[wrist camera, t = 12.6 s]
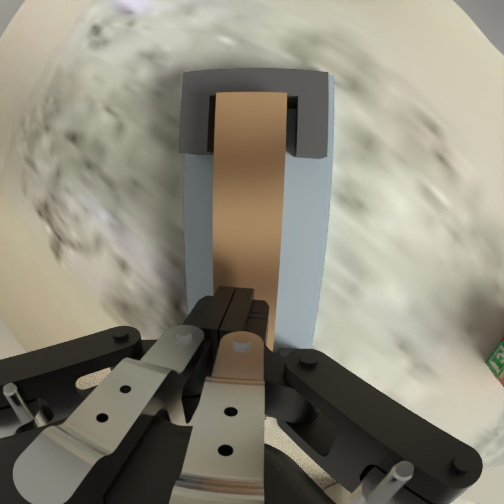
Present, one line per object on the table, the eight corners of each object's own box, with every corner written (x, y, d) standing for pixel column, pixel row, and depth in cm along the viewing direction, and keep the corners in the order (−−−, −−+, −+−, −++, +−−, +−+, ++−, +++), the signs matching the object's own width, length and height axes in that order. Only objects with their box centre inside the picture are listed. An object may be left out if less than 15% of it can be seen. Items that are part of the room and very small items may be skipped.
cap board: (300, 391, 22) (301, 425, 18) (198, 381, 23) (185, 412, 19) (331, 80, 15) (343, 58, 11) (193, 78, 16) (171, 58, 12)
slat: (270, 371, 20) (265, 419, 15) (232, 368, 20) (219, 414, 16) (286, 115, 15) (287, 92, 10) (235, 114, 15) (216, 92, 10)
